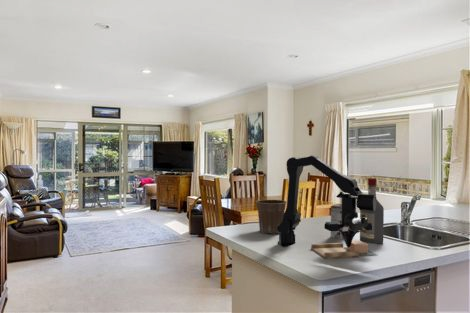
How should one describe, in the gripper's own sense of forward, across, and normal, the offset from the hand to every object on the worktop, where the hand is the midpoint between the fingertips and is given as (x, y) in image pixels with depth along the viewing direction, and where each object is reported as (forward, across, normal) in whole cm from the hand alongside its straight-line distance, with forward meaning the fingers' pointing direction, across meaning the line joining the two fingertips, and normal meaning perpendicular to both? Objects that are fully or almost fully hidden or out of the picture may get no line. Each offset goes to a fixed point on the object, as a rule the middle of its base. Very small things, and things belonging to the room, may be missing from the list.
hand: (348, 246), depth 144 cm
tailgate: (+3, +5, 0) cm, 6 cm away
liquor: (+3, +21, +17) cm, 27 cm away
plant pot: (+3, -20, +45) cm, 49 cm away
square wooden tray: (+3, -7, 0) cm, 7 cm away
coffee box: (+3, +10, +27) cm, 29 cm away
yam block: (+2, +4, 0) cm, 5 cm away
